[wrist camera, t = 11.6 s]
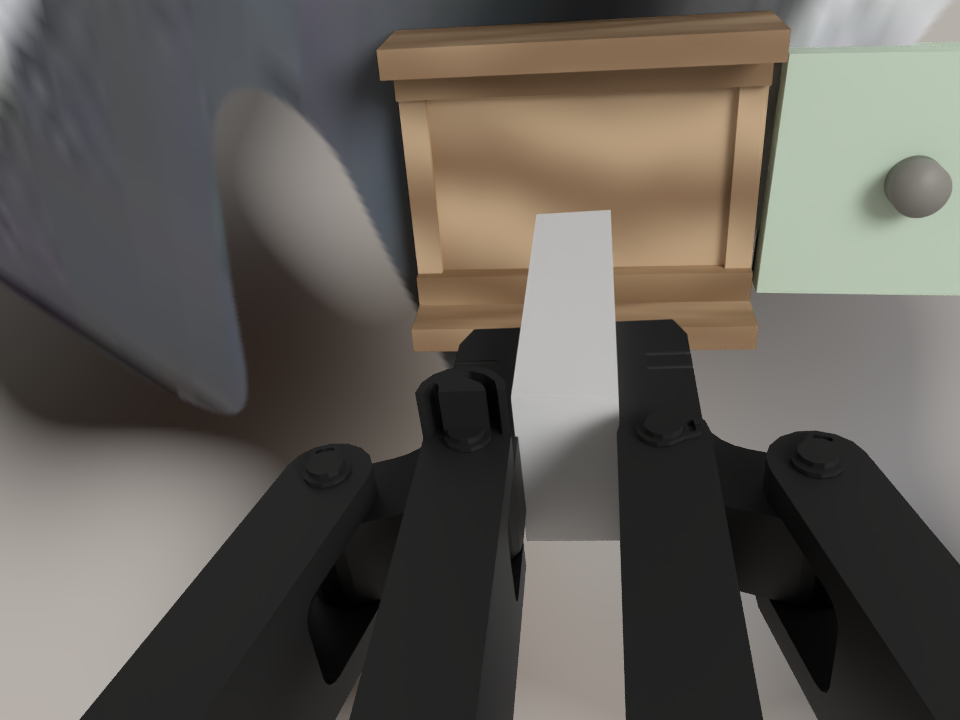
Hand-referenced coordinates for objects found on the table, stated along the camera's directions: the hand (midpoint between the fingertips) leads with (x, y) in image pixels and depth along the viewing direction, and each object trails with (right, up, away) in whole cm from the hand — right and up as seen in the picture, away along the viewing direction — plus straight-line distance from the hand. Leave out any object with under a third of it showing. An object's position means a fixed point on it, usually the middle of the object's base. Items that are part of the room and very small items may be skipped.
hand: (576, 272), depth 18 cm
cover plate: (+17, +7, +22) cm, 28 cm away
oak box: (+3, +7, +23) cm, 24 cm away
